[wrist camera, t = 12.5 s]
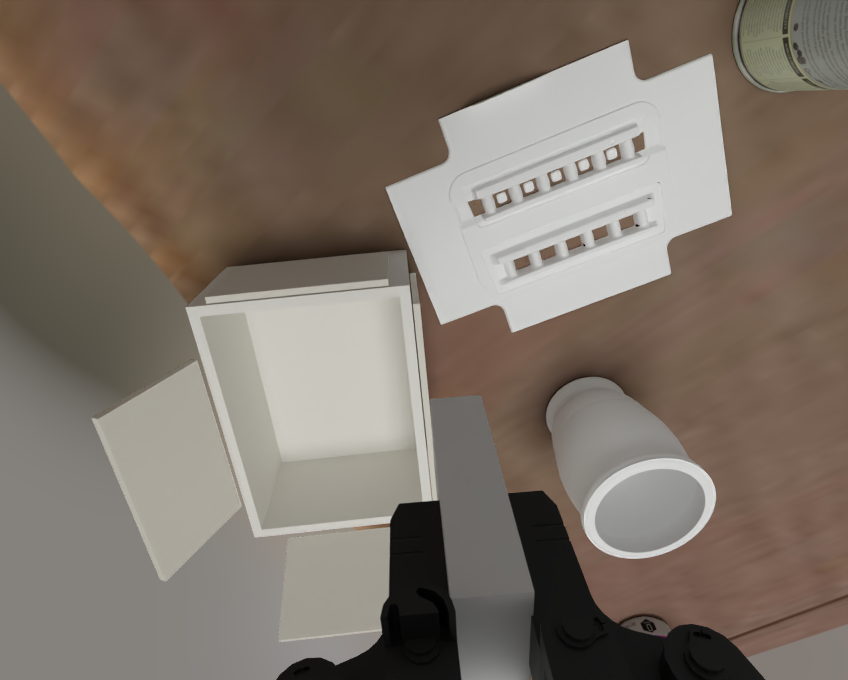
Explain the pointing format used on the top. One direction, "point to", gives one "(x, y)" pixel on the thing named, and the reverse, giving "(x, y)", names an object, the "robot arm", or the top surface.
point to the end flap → (335, 584)
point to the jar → (626, 471)
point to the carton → (319, 388)
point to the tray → (566, 188)
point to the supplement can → (648, 626)
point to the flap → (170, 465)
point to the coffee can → (792, 44)
